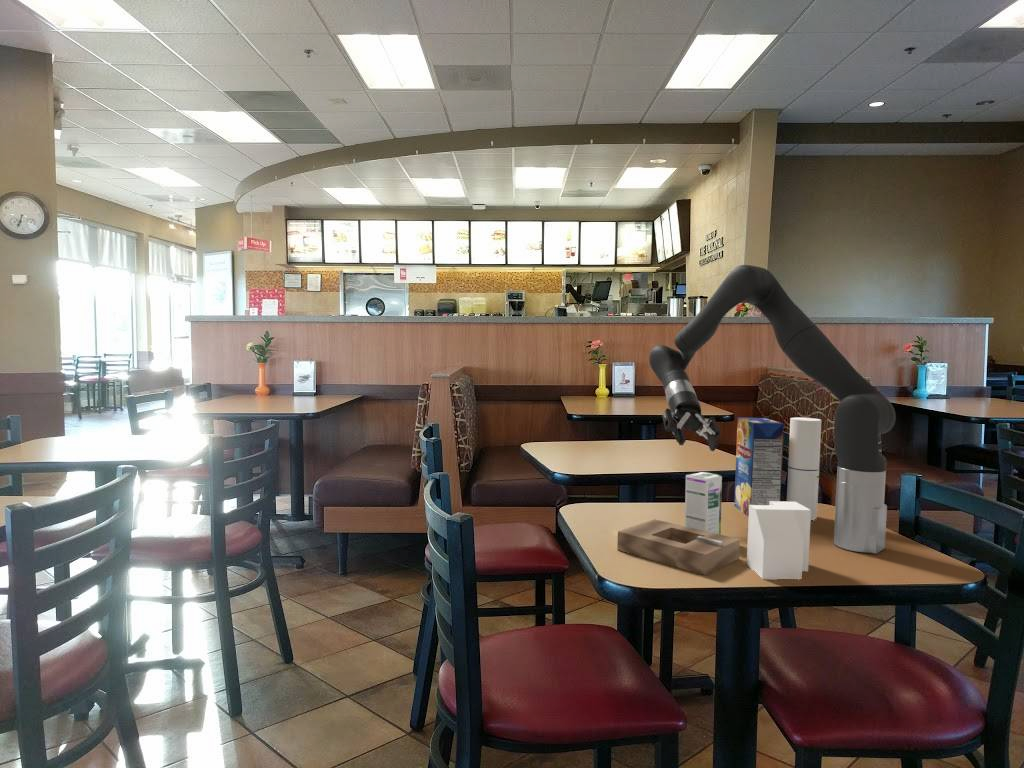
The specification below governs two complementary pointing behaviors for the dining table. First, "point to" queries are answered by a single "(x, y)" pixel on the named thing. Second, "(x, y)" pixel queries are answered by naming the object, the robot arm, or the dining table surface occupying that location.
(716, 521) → the syrup box
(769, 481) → the juice carton
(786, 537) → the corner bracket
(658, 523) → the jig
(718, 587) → the dining table surface
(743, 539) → the dining table surface
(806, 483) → the cylindrical container
